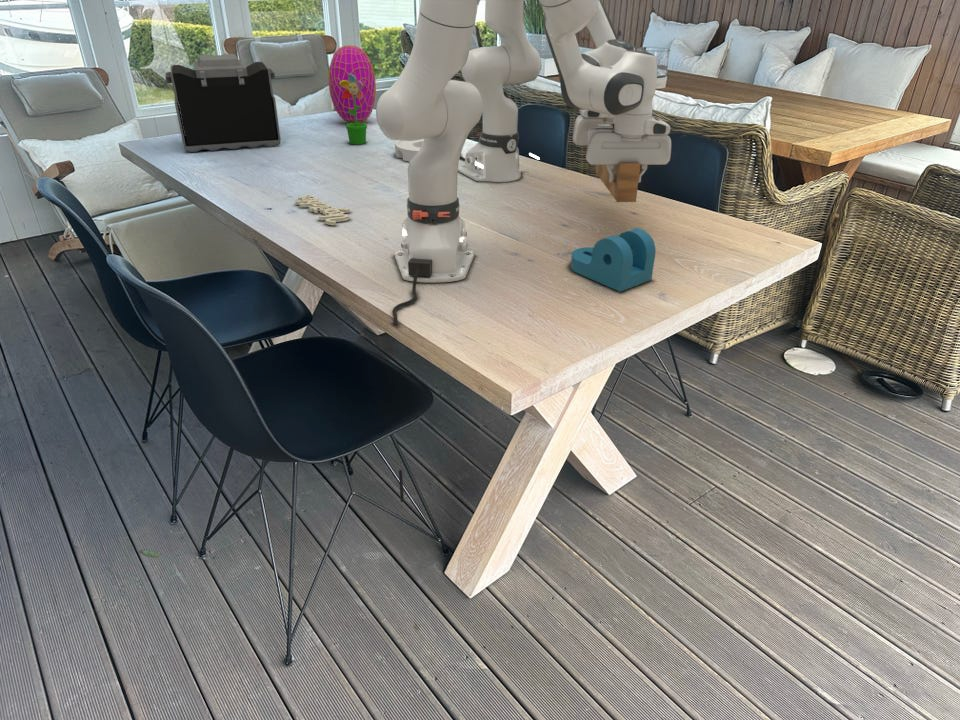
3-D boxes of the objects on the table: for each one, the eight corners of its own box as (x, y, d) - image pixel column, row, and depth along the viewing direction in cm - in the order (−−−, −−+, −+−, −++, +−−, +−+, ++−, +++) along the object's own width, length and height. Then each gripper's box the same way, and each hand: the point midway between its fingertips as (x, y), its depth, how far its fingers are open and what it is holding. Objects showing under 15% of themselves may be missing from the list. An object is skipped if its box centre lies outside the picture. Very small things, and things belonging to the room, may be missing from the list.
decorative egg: (362, 116, 305) (357, 42, 290) (386, 123, 292) (382, 46, 277) (324, 121, 294) (316, 45, 279) (347, 129, 281) (340, 49, 266)
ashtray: (453, 164, 236) (453, 152, 234) (387, 161, 239) (387, 149, 237) (465, 148, 256) (465, 137, 254) (404, 145, 259) (404, 134, 257)
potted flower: (342, 144, 260) (336, 73, 247) (351, 139, 266) (346, 70, 254) (365, 146, 257) (360, 74, 245) (374, 141, 264) (369, 71, 251)
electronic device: (278, 133, 274) (267, 51, 259) (285, 146, 256) (274, 59, 241) (180, 140, 262) (162, 54, 247) (180, 153, 244) (161, 62, 229)
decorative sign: (363, 215, 186) (329, 222, 181) (363, 219, 186) (330, 226, 181) (319, 192, 204) (287, 198, 198) (319, 195, 204) (288, 201, 199)
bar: (635, 202, 169) (640, 164, 164) (616, 202, 169) (620, 164, 164) (612, 172, 192) (616, 138, 187) (595, 172, 192) (598, 138, 187)
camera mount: (651, 279, 153) (658, 234, 148) (620, 291, 148) (626, 245, 142) (592, 255, 165) (596, 213, 160) (561, 266, 160) (564, 222, 154)
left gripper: (590, 127, 160) (585, 185, 167) (677, 127, 161) (668, 185, 168) (586, 121, 165) (581, 178, 172) (669, 121, 166) (661, 178, 173)
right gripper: (649, 106, 183) (642, 158, 190) (573, 106, 182) (569, 158, 189) (656, 110, 178) (648, 164, 185) (577, 110, 177) (573, 164, 184)
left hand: (624, 182), depth 170 cm, fingers closed on bar, 5 cm apart
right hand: (608, 161), depth 187 cm, fingers closed on bar, 5 cm apart
